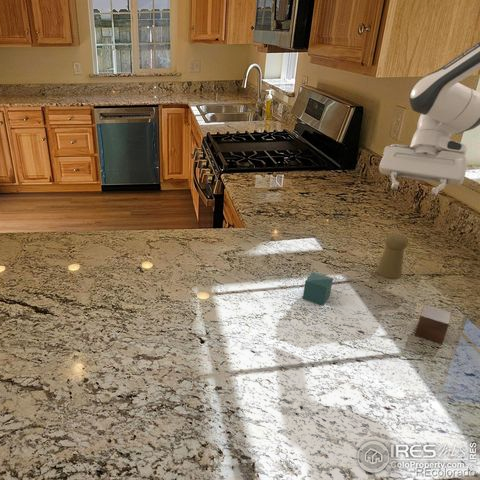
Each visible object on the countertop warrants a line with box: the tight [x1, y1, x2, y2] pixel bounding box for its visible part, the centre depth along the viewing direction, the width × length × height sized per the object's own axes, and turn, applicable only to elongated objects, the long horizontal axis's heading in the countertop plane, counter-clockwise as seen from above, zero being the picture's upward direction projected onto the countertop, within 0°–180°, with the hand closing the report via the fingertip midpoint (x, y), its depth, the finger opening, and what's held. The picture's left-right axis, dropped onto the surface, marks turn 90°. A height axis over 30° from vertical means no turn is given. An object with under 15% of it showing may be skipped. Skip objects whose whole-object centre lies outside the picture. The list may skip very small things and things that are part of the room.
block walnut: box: [414, 304, 452, 345], centre depth 89 cm, size 5×5×5 cm
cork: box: [375, 232, 409, 280], centre depth 111 cm, size 6×6×11 cm
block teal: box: [302, 272, 334, 306], centre depth 102 cm, size 5×5×5 cm
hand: (413, 191), depth 114 cm, fingers open, 8 cm apart
